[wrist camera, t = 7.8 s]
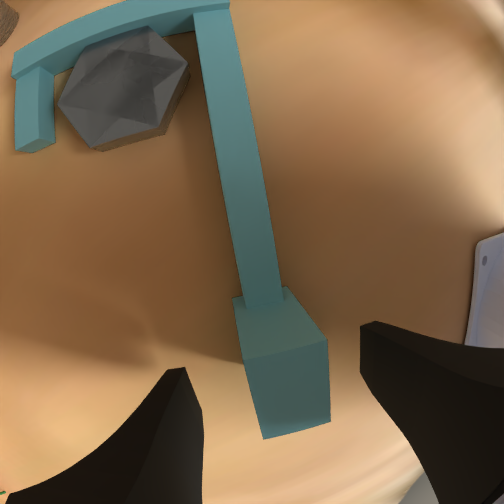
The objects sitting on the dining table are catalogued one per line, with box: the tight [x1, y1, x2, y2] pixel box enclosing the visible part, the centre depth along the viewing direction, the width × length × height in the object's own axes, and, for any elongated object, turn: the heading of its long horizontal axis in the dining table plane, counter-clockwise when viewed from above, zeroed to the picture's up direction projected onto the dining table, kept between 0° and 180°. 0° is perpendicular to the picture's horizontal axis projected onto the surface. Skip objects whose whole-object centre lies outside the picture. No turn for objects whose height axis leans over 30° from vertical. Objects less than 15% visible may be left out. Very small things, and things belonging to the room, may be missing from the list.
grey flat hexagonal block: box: [57, 25, 190, 152], centre depth 8 cm, size 4×5×1 cm
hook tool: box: [11, 0, 331, 440], centre depth 7 cm, size 14×9×4 cm, turn 10°
